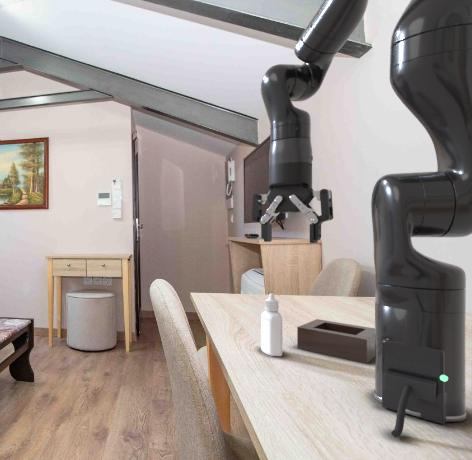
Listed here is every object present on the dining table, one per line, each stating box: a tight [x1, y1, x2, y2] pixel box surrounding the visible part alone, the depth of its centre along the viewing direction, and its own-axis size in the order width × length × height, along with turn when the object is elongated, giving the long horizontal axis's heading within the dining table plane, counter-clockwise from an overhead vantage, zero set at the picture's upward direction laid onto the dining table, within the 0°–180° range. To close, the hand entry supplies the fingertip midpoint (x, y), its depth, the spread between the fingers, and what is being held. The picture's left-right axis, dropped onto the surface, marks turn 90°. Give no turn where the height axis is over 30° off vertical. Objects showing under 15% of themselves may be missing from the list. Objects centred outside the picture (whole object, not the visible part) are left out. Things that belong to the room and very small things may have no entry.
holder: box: [296, 318, 375, 364], centre depth 79 cm, size 12×12×4 cm
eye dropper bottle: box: [260, 293, 283, 357], centre depth 78 cm, size 4×6×12 cm
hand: (289, 242), depth 78 cm, fingers open, 8 cm apart
